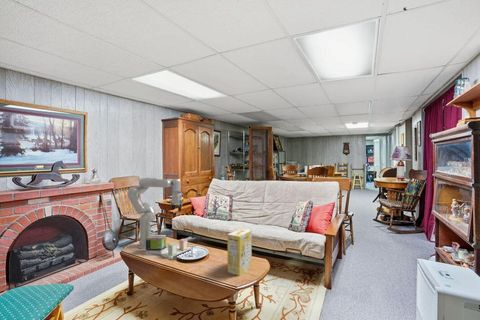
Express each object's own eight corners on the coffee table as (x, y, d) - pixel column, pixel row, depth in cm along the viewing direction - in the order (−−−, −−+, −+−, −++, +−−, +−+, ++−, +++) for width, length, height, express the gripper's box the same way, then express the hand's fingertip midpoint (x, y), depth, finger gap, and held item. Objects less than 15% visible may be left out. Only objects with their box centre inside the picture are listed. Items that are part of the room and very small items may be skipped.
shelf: (160, 255, 201) (160, 250, 201) (178, 248, 217) (178, 243, 217) (173, 260, 191) (173, 254, 191) (191, 252, 208) (191, 247, 208)
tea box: (166, 250, 212) (166, 234, 212) (161, 255, 202) (161, 238, 202) (150, 250, 213) (151, 234, 213) (145, 254, 203) (145, 237, 203)
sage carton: (168, 254, 197) (168, 244, 197) (172, 253, 201) (172, 242, 201) (172, 256, 194) (172, 245, 194) (176, 254, 198) (176, 243, 199)
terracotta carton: (179, 250, 208) (179, 240, 209) (183, 248, 213) (183, 238, 213) (183, 251, 206) (183, 241, 206) (187, 249, 210) (187, 239, 210)
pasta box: (240, 263, 186) (240, 228, 187) (251, 266, 181) (251, 230, 181) (227, 272, 171) (227, 234, 171) (239, 275, 165) (239, 236, 166)
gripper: (185, 192, 216) (185, 210, 215) (173, 191, 226) (173, 208, 226) (179, 193, 210) (179, 212, 209) (167, 191, 220) (167, 209, 219)
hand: (176, 210), depth 217 cm, fingers open, 9 cm apart
